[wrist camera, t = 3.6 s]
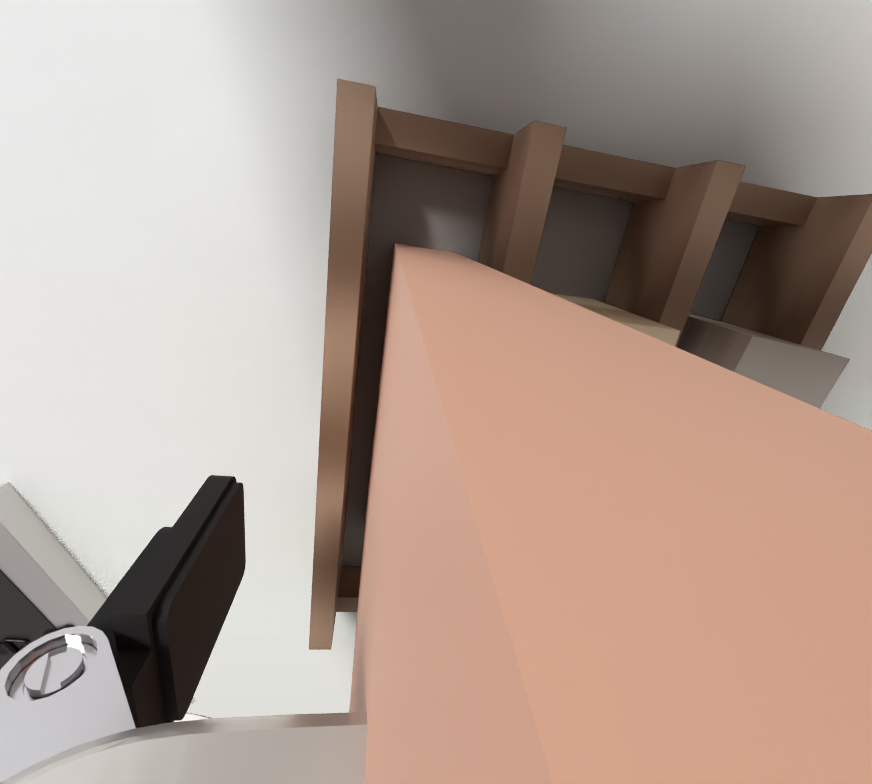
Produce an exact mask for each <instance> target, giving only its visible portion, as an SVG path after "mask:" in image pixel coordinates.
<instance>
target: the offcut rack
mask: <svg viewBox="0 0 872 784" xmlns="http://www.w3.org/2000/svg"><path fill="white" fill-rule="evenodd" d="M565 133H566V127H561V126H556V125H552V124H547V123H542V122H538V121H533V122H532V123H530V124H529V125H527V126H526V127H524V128H523V129H522V130H520V131H519V132H517V133H516V134H515V135H512V134H507V133H502V132H498V131H493V130H488V129H483V128H478V127H473V126H469V125H464V124H459V123H454V122H449V121H444V120H439V119H435V118H430V117H425V116H420V115H415V114H410V113H406V112H401V111H396V110H391V109H386V108H381V107H377V97H376V87H374V86H369V85H365V84H360V83H355V82H351V81H346V80H341V79H337V99H336V119H335V139H334V159H333V179H332V199H331V219H330V239H329V259H328V279H327V298H326V318H325V338H324V358H323V378H322V398H321V418H320V438H319V458H318V478H317V498H316V518H315V538H314V558H313V578H312V598H311V618H310V638H309V649H331V646H332V638H333V631H334V624H335V616H336V612H358V599H359V587H360V574H361V567H342V555H343V543H344V531H345V519H346V507H347V495H348V483H349V472H350V460H351V448H352V436H353V424H354V412H355V400H356V388H357V376H358V364H359V352H360V340H361V329H362V317H363V305H364V293H365V281H366V269H367V257H368V245H369V233H370V221H371V209H372V197H373V186H374V174H375V162H376V153H378V154H384V155H389V156H394V157H400V158H405V159H410V160H415V161H421V162H426V163H431V164H437V165H442V166H447V167H453V168H458V169H463V170H468V171H474V172H479V173H484V174H490V175H494V176H493V181H492V187H491V192H490V198H489V203H488V209H487V214H486V220H485V226H484V231H483V237H482V242H481V248H480V253H479V259H478V263H481V264H483V265H485V266H488V267H490V268H492V269H495V270H497V271H499V272H502V273H504V274H506V275H509V276H511V277H513V278H516V279H518V280H520V281H523V282H525V283H527V284H531V280H532V276H533V271H534V267H535V263H536V258H537V254H538V250H539V245H540V241H541V237H542V232H543V228H544V224H545V219H546V215H547V211H548V206H549V202H550V198H551V193H552V189H553V187H558V188H564V189H569V190H574V191H580V192H585V193H590V194H596V195H601V196H606V197H611V198H617V199H622V200H627V201H633V202H634V205H633V209H632V212H631V215H630V219H629V222H628V225H627V229H626V232H625V235H624V239H623V242H622V245H621V249H620V252H619V255H618V258H617V262H616V265H615V268H614V272H613V275H612V278H611V282H610V285H609V288H608V292H607V295H606V298H605V302H604V303H606V304H608V305H611V306H614V307H616V308H619V309H622V310H625V311H627V312H630V313H633V314H636V315H638V316H641V317H644V318H647V319H649V320H652V321H655V322H658V323H660V324H663V325H666V326H668V327H671V328H674V329H677V330H679V331H680V334H679V336H678V339H677V342H676V344H675V347H677V344H678V342H679V339H680V336H681V334H682V331H683V328H684V326H685V323H686V321H687V318H688V315H689V313H690V310H691V307H692V305H693V302H694V300H695V297H696V294H697V292H698V289H699V287H700V284H701V281H702V279H703V276H704V273H705V271H706V268H707V266H708V263H709V260H710V258H711V255H712V252H713V250H714V247H715V245H716V242H717V239H718V237H719V234H720V232H721V229H722V226H723V224H724V221H725V219H728V220H733V221H739V222H744V223H749V224H754V225H760V228H759V230H758V233H757V235H756V238H755V240H754V242H753V245H752V247H751V250H750V252H749V254H748V257H747V259H746V262H745V264H744V267H743V269H742V271H741V274H740V276H739V279H738V281H737V283H736V286H735V288H734V291H733V293H732V296H731V298H730V300H729V303H728V305H727V308H726V310H725V312H724V315H723V317H722V320H721V321H722V322H725V323H728V324H732V325H735V326H739V327H742V328H745V329H749V330H752V331H756V332H759V333H762V334H766V335H769V336H773V337H776V338H779V339H783V340H786V341H790V342H793V343H796V344H800V345H803V346H807V347H810V348H813V349H817V350H820V351H821V350H822V348H823V346H824V344H825V342H826V340H827V338H828V336H829V334H830V332H831V330H832V328H833V326H834V325H835V323H836V321H837V319H838V317H839V315H840V313H841V311H842V309H843V307H844V305H845V303H846V301H847V300H848V298H849V296H850V294H851V292H852V290H853V288H854V286H855V284H856V282H857V280H858V278H859V276H860V275H861V273H862V271H863V269H864V267H865V265H866V263H867V261H868V259H869V257H870V255H871V253H872V194H865V195H849V196H833V197H812V196H807V195H802V194H798V193H793V192H788V191H783V190H778V189H773V188H769V187H764V186H759V185H754V184H749V183H744V182H740V179H741V177H742V174H743V171H744V169H745V166H743V165H738V164H734V163H729V162H724V161H720V160H715V161H710V162H705V163H700V164H695V165H690V166H684V167H679V168H672V167H667V166H662V165H657V164H652V163H648V162H643V161H638V160H633V159H628V158H623V157H619V156H614V155H609V154H604V153H599V152H594V151H589V150H585V149H580V148H575V147H570V146H565V145H563V141H564V137H565Z"/></svg>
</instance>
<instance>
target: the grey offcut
mask: <svg viewBox="0 0 872 784" xmlns="http://www.w3.org/2000/svg"><path fill="white" fill-rule="evenodd" d="M677 348H679V349H681V350H684V351H686V352H688V353H691V354H693V355H695V356H698V357H700V358H702V359H705V360H707V361H709V362H712V363H714V364H716V365H719V366H721V367H723V368H726V369H728V370H730V371H733V372H735V373H737V374H740V375H742V376H744V377H747V378H749V379H751V380H754V381H756V382H758V383H761V384H763V385H765V386H768V387H770V388H772V389H775V390H777V391H779V392H782V393H784V394H786V395H789V396H791V397H793V398H796V399H798V400H800V401H803V402H805V403H807V404H810V405H812V406H814V407H817V408H820V406H821V405H822V403H823V402H824V400H825V398H826V397H827V395H828V394H829V392H830V390H831V389H832V387H833V386H834V384H835V382H836V381H837V379H838V378H839V376H840V374H841V373H842V371H843V370H844V368H845V366H846V365H847V363H848V362H849V360H850V359H847V358H844V357H841V356H837V355H834V354H830V353H827V352H824V351H820V350H817V349H813V348H810V347H807V346H803V345H800V344H796V343H793V342H790V341H786V340H783V339H779V338H776V337H773V336H769V335H766V334H762V333H759V332H756V331H752V330H749V329H745V328H742V327H739V326H735V325H732V324H728V323H725V322H722V321H718V320H714V319H710V318H705V317H701V316H697V315H693V314H689V315H688V318H687V321H686V323H685V326H684V328H683V331H682V334H681V336H680V339H679V342H678V344H677Z"/></svg>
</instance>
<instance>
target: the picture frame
mask: <svg viewBox="0 0 872 784" xmlns="http://www.w3.org/2000/svg"><path fill="white" fill-rule="evenodd" d="M106 599H107V597H106V596H105V595H104V594H103V592H102V591H101V590H100V589H99V588H98V587H97V585H96V584H95V583H94V582H93V581H92V580H91V578H90V577H89V576H88V575H87V574H86V572H85V571H84V570H83V569H82V568H81V567H80V565H79V564H78V563H77V562H76V561H75V559H74V558H73V557H72V556H71V555H70V554H69V552H68V551H67V550H66V549H65V548H64V546H63V545H62V544H61V543H60V542H59V541H58V539H57V538H56V537H55V536H54V535H53V533H52V532H51V531H50V530H49V529H48V528H47V526H46V525H45V524H44V523H43V522H42V521H41V519H40V518H39V517H38V516H37V515H36V513H35V512H34V511H33V510H32V509H31V508H30V506H29V505H28V504H27V503H26V502H25V500H24V499H23V498H22V497H21V496H20V495H19V493H18V492H17V491H16V490H15V489H14V487H13V486H12V485H11V484H10V483H9V482H8V483H5V484H1V485H0V670H1V668H2V667H3V666H4V665H5V664H6V663H7V662H8V661H9V660H10V659H11V658H12V657H13V656H14V655H15V654H16V653H18V652H19V651H21V650H22V649H23V648H25V647H26V646H27V645H29V644H30V643H32V642H34V641H36V640H38V639H39V638H41V637H43V636H45V635H47V634H50V633H52V632H55V631H58V630H61V629H64V628H69V627H75V626H87V625H88V623H89V622H90V621H91V619H92V618H93V617H94V615H95V614H96V613H97V611H98V610H99V609H100V607H101V606H102V605H103V603H104V602H105V601H106Z"/></svg>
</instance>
